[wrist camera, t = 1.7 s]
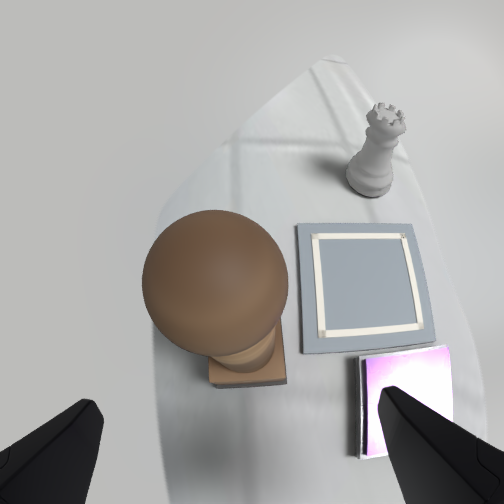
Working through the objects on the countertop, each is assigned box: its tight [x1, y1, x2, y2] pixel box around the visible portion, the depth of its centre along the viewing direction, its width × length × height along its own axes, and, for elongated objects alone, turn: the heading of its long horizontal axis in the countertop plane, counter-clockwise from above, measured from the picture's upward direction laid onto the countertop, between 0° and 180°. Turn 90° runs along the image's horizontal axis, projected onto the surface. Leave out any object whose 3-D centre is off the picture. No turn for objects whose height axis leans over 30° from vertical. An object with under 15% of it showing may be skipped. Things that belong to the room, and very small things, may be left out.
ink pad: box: [354, 344, 453, 460], centre depth 15 cm, size 7×7×2 cm
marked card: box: [297, 223, 436, 354], centre depth 20 cm, size 10×10×1 cm
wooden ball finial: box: [142, 210, 288, 389], centre depth 12 cm, size 4×4×14 cm
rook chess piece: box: [346, 103, 406, 197], centre depth 22 cm, size 4×4×8 cm
